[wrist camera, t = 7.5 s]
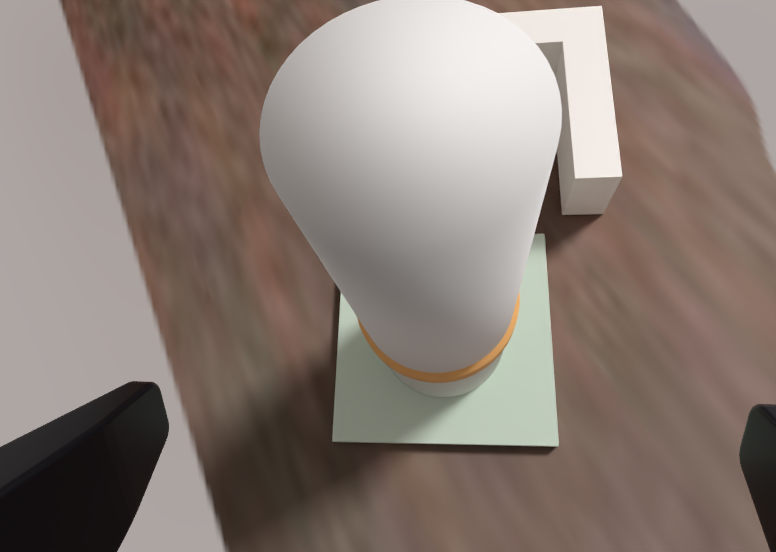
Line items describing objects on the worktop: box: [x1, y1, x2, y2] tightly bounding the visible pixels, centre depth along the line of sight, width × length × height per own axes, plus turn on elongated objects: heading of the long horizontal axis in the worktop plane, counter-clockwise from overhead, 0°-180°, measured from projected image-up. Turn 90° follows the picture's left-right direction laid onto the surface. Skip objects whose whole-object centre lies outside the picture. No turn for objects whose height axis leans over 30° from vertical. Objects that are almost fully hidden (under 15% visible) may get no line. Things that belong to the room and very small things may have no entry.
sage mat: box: [332, 234, 559, 447], centre depth 22 cm, size 8×8×1 cm
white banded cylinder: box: [259, 0, 562, 397], centre depth 15 cm, size 5×5×14 cm
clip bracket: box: [498, 6, 622, 215], centre depth 24 cm, size 8×9×3 cm
